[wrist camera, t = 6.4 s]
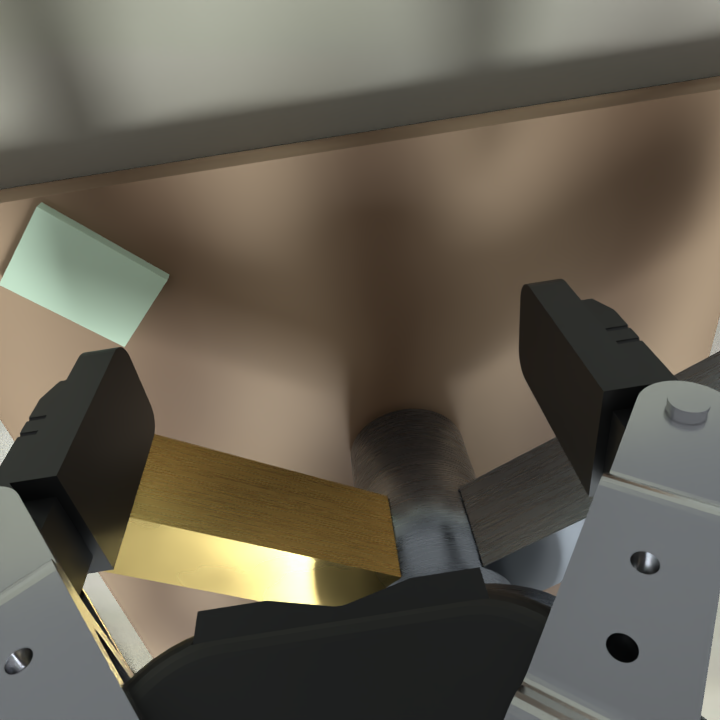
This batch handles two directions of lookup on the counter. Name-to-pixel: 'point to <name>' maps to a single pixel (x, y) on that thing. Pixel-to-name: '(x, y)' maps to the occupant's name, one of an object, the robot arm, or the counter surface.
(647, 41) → the counter surface
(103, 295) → the mint green block
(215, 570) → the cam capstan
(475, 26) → the counter surface
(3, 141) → the counter surface
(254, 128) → the counter surface
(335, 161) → the walnut board
